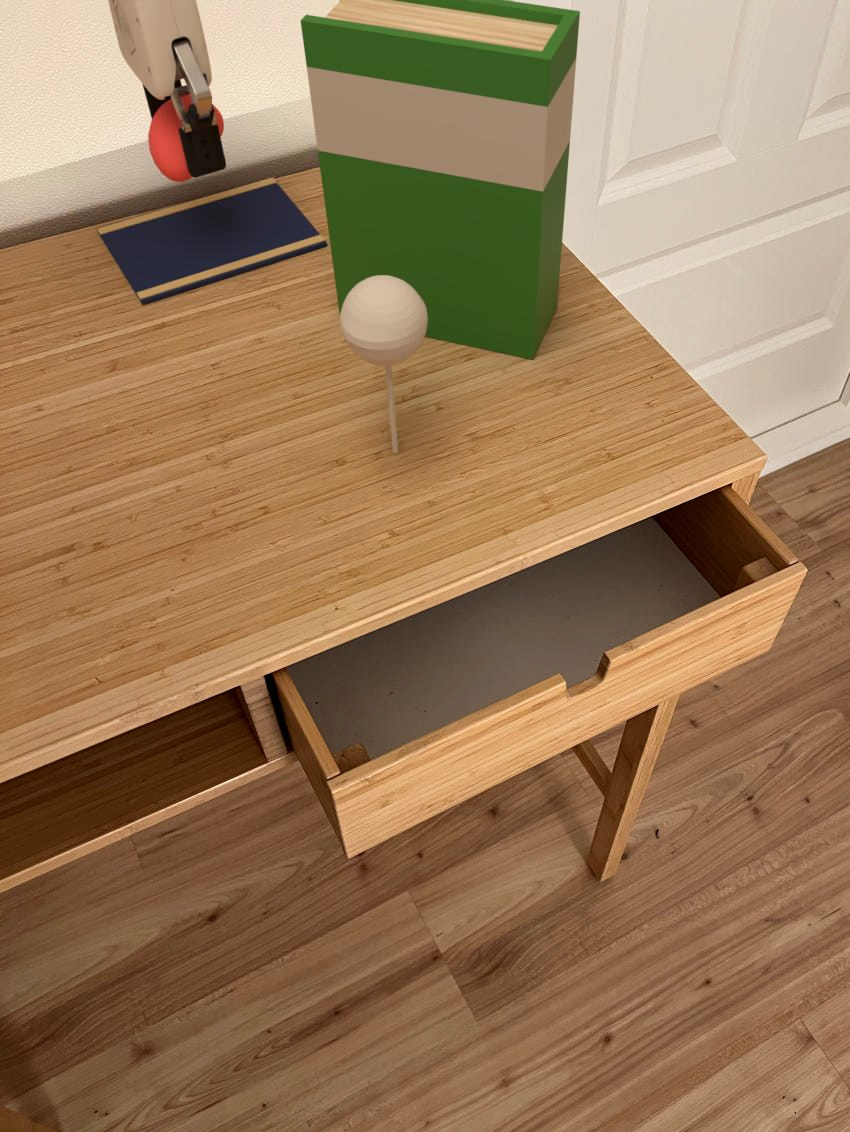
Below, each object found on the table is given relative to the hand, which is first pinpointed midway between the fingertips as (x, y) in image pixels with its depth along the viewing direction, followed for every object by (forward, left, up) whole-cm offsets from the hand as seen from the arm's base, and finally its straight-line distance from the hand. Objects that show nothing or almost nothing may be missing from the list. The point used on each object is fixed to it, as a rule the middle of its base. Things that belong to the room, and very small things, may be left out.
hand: (189, 147), depth 87 cm
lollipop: (+2, -34, -9) cm, 35 cm away
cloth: (0, 0, -9) cm, 9 cm away
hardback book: (+14, -21, -9) cm, 27 cm away
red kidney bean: (0, 0, -2) cm, 2 cm away
